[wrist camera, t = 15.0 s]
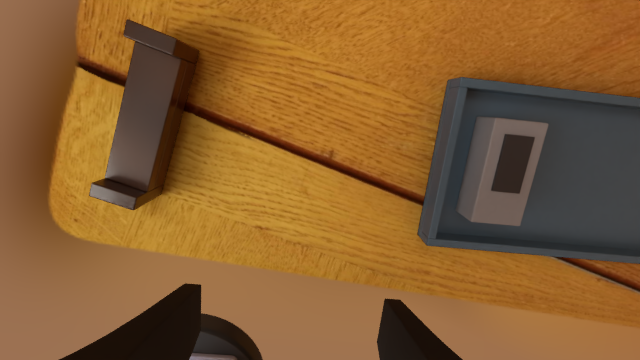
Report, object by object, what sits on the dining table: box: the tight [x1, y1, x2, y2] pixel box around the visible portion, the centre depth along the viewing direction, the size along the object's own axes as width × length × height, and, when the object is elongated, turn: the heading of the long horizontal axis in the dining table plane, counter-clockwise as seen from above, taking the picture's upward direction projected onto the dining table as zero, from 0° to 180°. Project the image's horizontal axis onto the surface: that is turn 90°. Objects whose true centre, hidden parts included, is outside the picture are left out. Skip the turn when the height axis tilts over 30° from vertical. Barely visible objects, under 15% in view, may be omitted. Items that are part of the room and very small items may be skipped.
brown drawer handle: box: [89, 20, 200, 210], centre depth 16 cm, size 9×2×3 cm, turn 159°
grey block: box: [456, 117, 548, 226], centre depth 17 cm, size 6×3×2 cm, turn 174°
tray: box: [418, 77, 640, 264], centre depth 19 cm, size 10×26×2 cm, turn 84°
